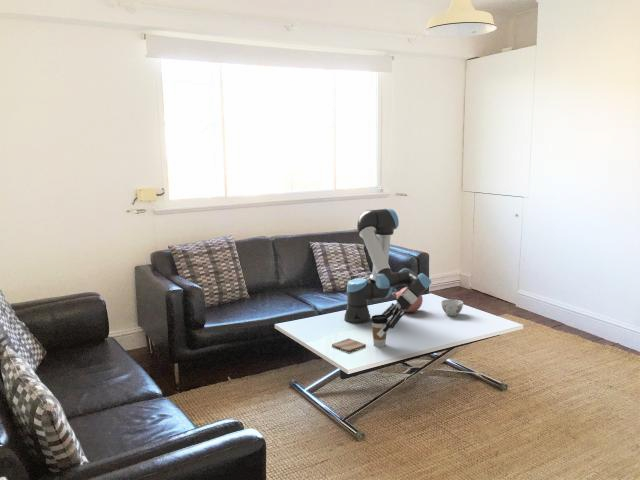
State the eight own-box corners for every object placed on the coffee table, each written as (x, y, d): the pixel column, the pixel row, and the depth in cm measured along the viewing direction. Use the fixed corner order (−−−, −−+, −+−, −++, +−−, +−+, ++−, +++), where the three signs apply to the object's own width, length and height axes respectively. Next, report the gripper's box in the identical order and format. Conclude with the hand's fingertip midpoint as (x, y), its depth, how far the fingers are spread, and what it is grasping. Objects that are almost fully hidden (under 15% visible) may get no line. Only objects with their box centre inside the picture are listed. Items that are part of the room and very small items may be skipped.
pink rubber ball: (399, 305, 338) (399, 281, 335) (427, 311, 325) (427, 286, 322) (385, 311, 327) (385, 286, 324) (413, 317, 313) (413, 291, 311)
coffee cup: (387, 348, 267) (387, 319, 264) (370, 347, 269) (370, 318, 266) (388, 342, 275) (388, 313, 272) (372, 341, 277) (371, 313, 274)
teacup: (445, 310, 325) (446, 297, 324) (466, 313, 318) (466, 300, 317) (436, 317, 313) (436, 303, 312) (456, 320, 306) (457, 307, 305)
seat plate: (331, 346, 270) (331, 344, 270) (348, 340, 278) (348, 338, 278) (348, 353, 262) (348, 350, 261) (365, 346, 270) (365, 344, 269)
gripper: (419, 310, 262) (387, 344, 261) (404, 298, 282) (374, 330, 281) (409, 300, 260) (377, 335, 259) (394, 289, 280) (364, 321, 279)
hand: (376, 332), depth 270 cm, fingers open, 8 cm apart
